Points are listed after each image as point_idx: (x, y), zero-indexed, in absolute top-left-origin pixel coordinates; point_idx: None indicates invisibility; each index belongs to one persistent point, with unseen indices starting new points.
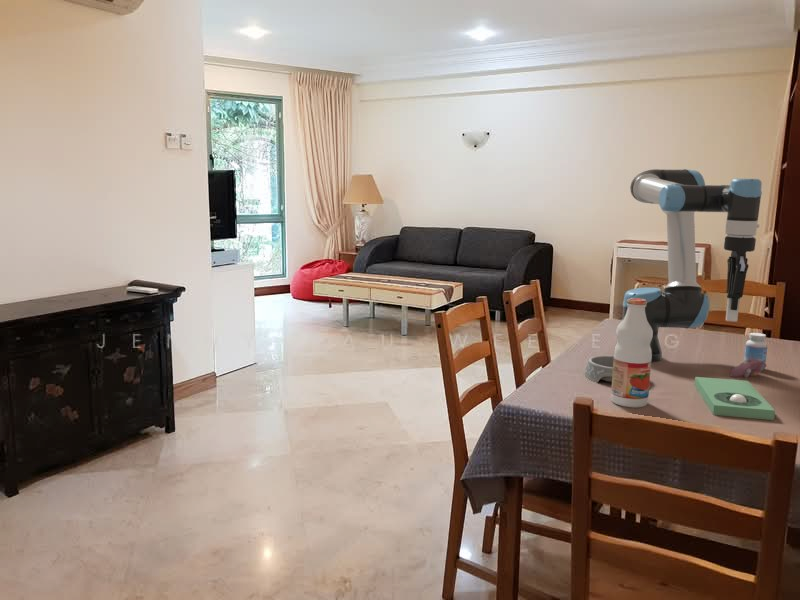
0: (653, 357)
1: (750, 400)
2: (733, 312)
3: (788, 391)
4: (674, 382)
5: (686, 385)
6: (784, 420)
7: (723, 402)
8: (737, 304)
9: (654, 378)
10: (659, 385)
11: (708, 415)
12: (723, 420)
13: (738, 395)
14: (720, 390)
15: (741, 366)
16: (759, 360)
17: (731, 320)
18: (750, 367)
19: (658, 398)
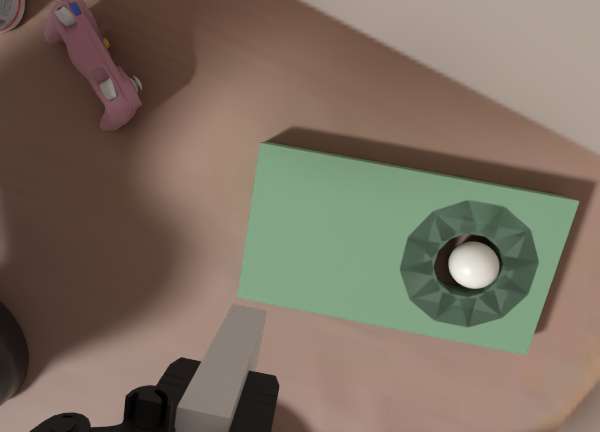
0: (4, 330)
1: (480, 232)
2: (250, 369)
3: (269, 2)
4: None
5: None
6: (565, 165)
7: (500, 319)
8: (274, 410)
9: None
10: None
11: None
12: (560, 332)
13: (487, 276)
14: (381, 279)
15: (124, 110)
16: (63, 17)
17: (259, 343)
18: (128, 78)
19: (381, 423)
